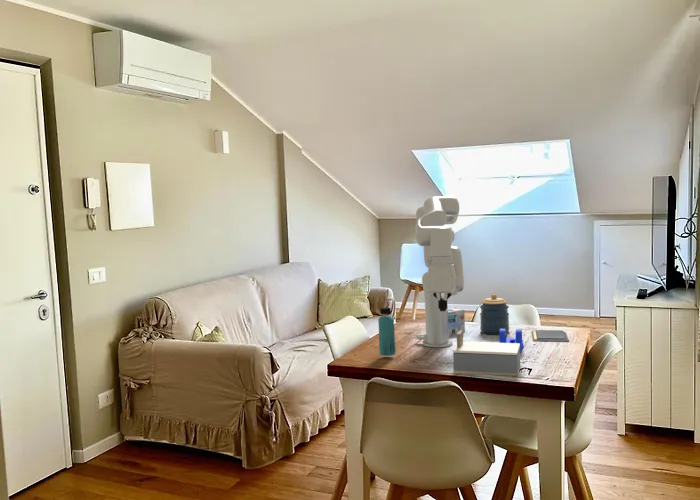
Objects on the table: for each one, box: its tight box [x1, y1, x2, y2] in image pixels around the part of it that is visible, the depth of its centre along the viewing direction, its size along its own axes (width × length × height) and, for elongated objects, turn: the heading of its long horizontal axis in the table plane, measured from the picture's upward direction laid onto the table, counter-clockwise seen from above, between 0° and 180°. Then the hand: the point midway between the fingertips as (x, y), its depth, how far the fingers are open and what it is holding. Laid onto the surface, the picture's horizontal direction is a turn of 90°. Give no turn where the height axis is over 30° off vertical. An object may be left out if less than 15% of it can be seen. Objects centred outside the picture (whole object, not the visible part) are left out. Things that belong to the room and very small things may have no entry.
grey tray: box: [452, 347, 521, 377], centre depth 217 cm, size 22×14×7 cm, turn 70°
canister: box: [479, 293, 510, 336], centre depth 276 cm, size 13×13×18 cm
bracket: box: [498, 328, 524, 354], centre depth 247 cm, size 18×8×9 cm, turn 161°
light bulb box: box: [448, 307, 466, 336], centre depth 279 cm, size 11×7×11 cm, turn 119°
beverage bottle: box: [377, 307, 396, 357], centre depth 238 cm, size 6×7×20 cm
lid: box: [452, 331, 520, 355], centre depth 216 cm, size 22×14×6 cm, turn 70°
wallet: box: [531, 329, 570, 343], centre depth 263 cm, size 20×2×15 cm
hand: (443, 310), depth 221 cm, fingers closed
